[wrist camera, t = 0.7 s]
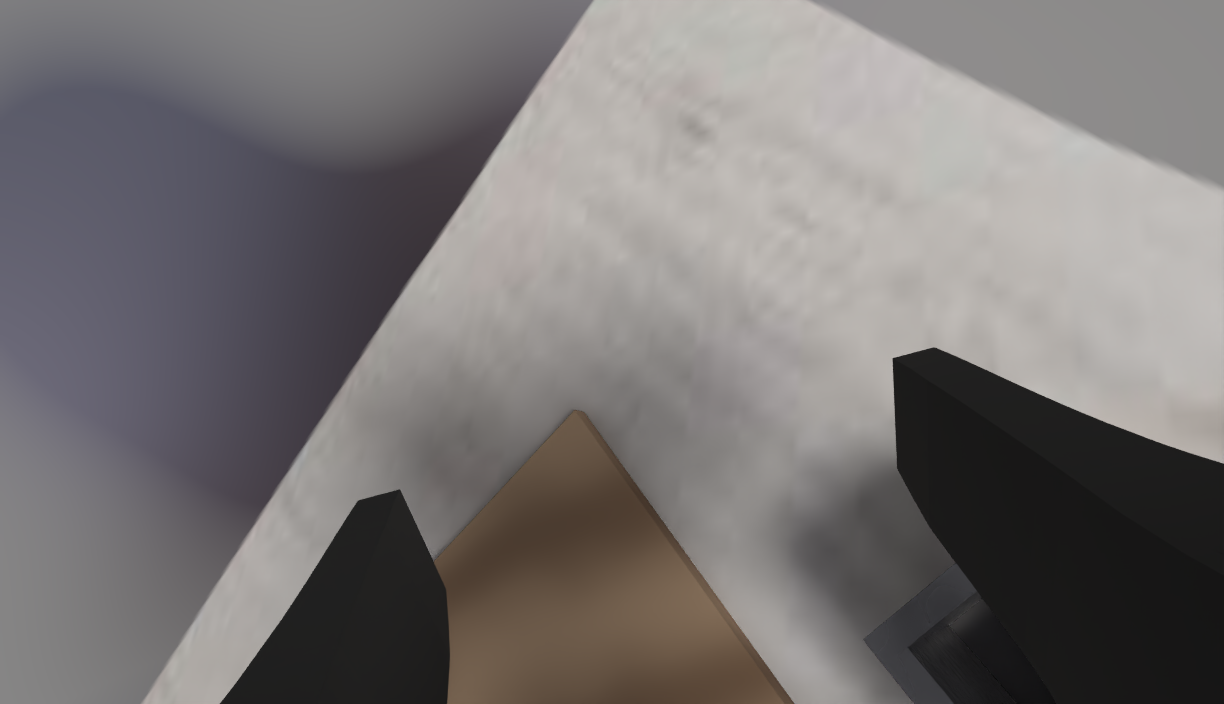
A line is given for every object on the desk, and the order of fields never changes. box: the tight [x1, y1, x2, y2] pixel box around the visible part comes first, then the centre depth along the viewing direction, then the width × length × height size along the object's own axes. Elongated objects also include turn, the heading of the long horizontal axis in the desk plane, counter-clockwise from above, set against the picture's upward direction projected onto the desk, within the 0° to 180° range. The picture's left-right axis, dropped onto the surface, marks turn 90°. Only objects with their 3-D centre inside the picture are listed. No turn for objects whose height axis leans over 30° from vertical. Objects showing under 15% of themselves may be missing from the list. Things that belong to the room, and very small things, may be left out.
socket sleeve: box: [863, 563, 1017, 704], centre depth 19 cm, size 5×5×5 cm
